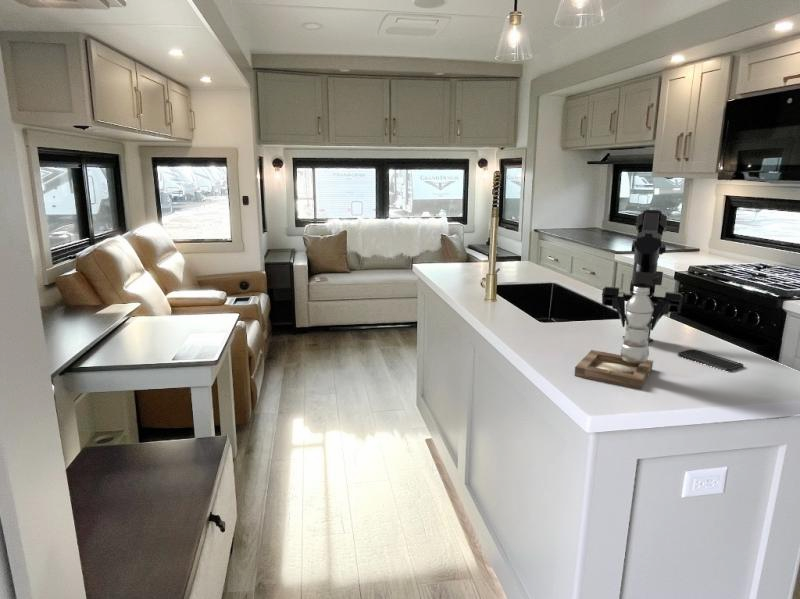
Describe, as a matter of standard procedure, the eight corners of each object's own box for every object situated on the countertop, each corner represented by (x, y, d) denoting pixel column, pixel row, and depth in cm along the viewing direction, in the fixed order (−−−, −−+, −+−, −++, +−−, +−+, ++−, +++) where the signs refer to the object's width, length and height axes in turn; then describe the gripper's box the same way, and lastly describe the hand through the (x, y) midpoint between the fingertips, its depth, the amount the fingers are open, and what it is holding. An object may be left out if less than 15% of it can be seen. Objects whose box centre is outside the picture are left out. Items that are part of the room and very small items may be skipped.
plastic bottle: (618, 356, 144) (625, 282, 139) (646, 359, 142) (654, 284, 137) (620, 365, 138) (628, 288, 133) (649, 367, 136) (658, 290, 131)
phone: (692, 348, 159) (745, 364, 146) (692, 352, 159) (744, 368, 147) (675, 353, 155) (728, 369, 143) (675, 356, 156) (727, 373, 143)
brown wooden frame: (590, 357, 153) (591, 349, 153) (652, 369, 145) (653, 360, 144) (574, 375, 140) (575, 366, 140) (640, 389, 132) (641, 379, 131)
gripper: (606, 256, 140) (597, 307, 134) (687, 261, 133) (682, 316, 126) (606, 279, 149) (598, 329, 142) (682, 286, 142) (677, 338, 135)
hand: (637, 327), depth 136 cm, fingers closed on plastic bottle, 6 cm apart
